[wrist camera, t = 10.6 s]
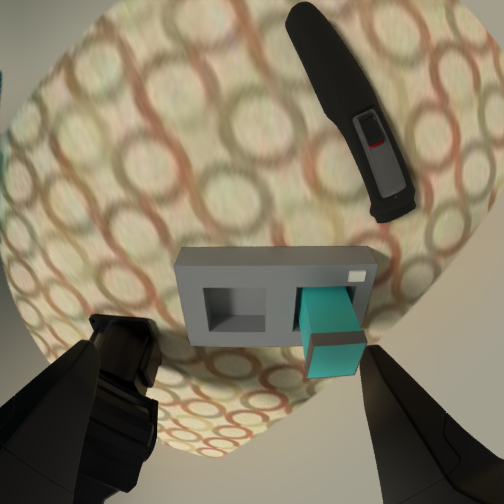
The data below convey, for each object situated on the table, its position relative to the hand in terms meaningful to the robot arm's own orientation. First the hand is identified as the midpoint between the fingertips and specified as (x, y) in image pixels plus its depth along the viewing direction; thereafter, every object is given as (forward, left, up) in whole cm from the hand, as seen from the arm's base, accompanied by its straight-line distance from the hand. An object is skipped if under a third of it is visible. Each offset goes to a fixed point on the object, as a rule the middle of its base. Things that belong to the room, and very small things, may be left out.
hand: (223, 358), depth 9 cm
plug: (+6, -7, -12) cm, 16 cm away
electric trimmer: (+7, +6, -14) cm, 16 cm away
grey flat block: (+3, -7, -13) cm, 15 cm away
